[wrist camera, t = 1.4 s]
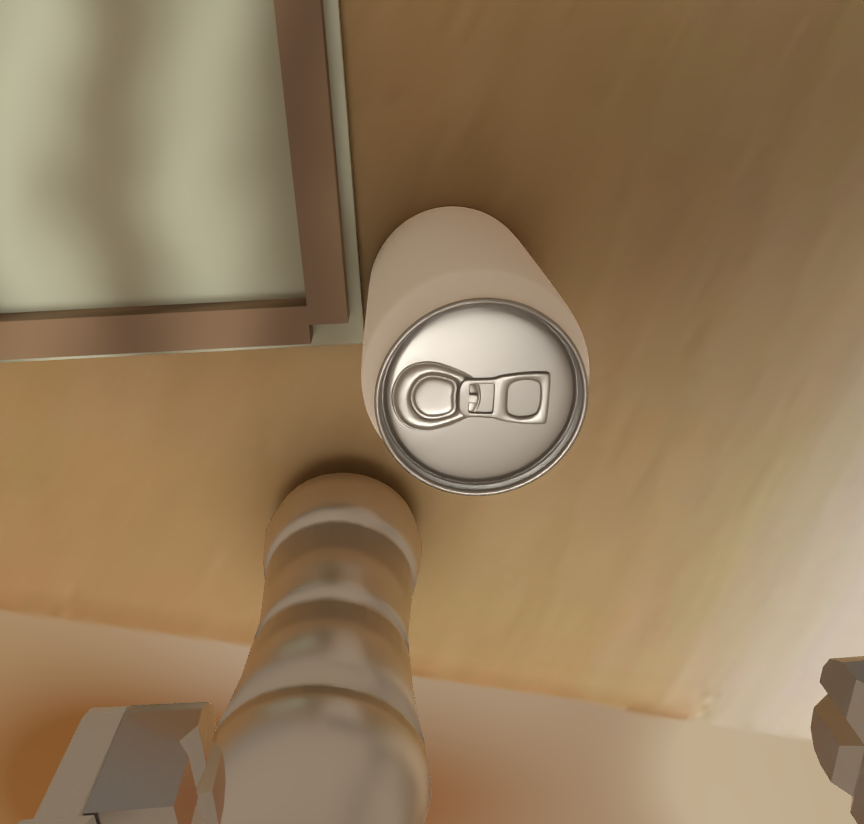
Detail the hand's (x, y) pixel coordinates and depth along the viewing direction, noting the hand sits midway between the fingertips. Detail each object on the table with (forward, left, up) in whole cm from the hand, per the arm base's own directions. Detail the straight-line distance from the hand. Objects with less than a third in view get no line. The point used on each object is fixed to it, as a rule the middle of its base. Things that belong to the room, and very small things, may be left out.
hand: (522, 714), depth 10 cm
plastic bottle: (+4, +11, -23) cm, 25 cm away
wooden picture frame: (+11, -6, -23) cm, 26 cm away
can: (-1, 0, -23) cm, 23 cm away
